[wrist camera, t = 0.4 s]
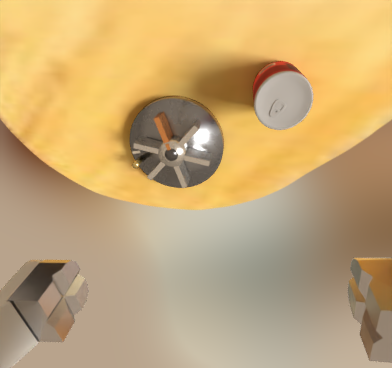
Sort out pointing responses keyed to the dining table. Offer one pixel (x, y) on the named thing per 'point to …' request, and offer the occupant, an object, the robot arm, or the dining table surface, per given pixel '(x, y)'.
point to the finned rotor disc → (173, 149)
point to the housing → (179, 123)
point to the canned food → (281, 96)
